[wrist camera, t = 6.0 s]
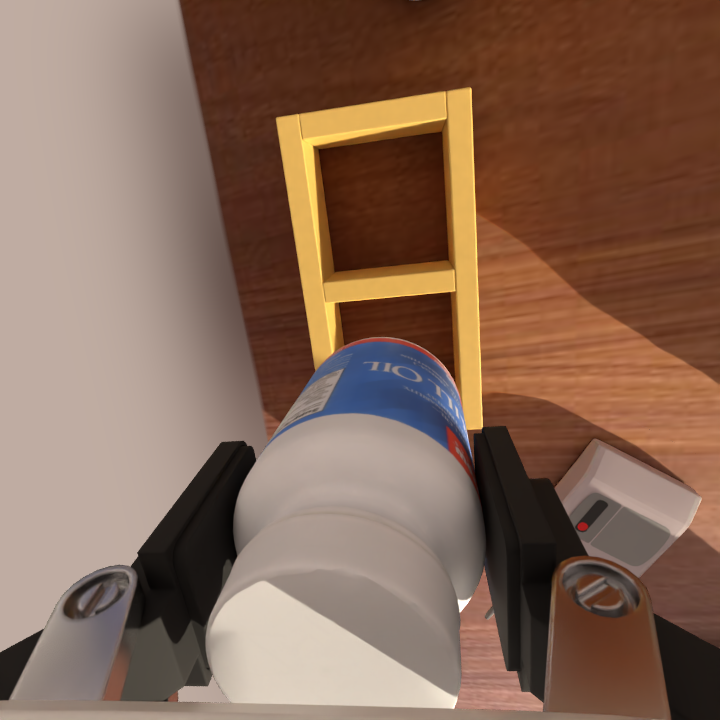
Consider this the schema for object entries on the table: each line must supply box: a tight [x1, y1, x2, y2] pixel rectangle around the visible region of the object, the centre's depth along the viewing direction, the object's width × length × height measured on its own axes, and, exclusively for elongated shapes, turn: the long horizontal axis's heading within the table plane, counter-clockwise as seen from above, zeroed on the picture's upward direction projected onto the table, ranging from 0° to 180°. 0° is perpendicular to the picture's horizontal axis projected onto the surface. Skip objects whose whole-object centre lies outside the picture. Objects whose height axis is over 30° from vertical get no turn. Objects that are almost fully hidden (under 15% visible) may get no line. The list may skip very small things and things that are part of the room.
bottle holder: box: [276, 87, 483, 430], centre depth 22 cm, size 8×15×4 cm, turn 7°
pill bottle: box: [206, 337, 486, 709], centre depth 11 cm, size 6×5×10 cm
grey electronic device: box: [485, 429, 701, 619], centre depth 26 cm, size 7×16×3 cm, turn 154°
